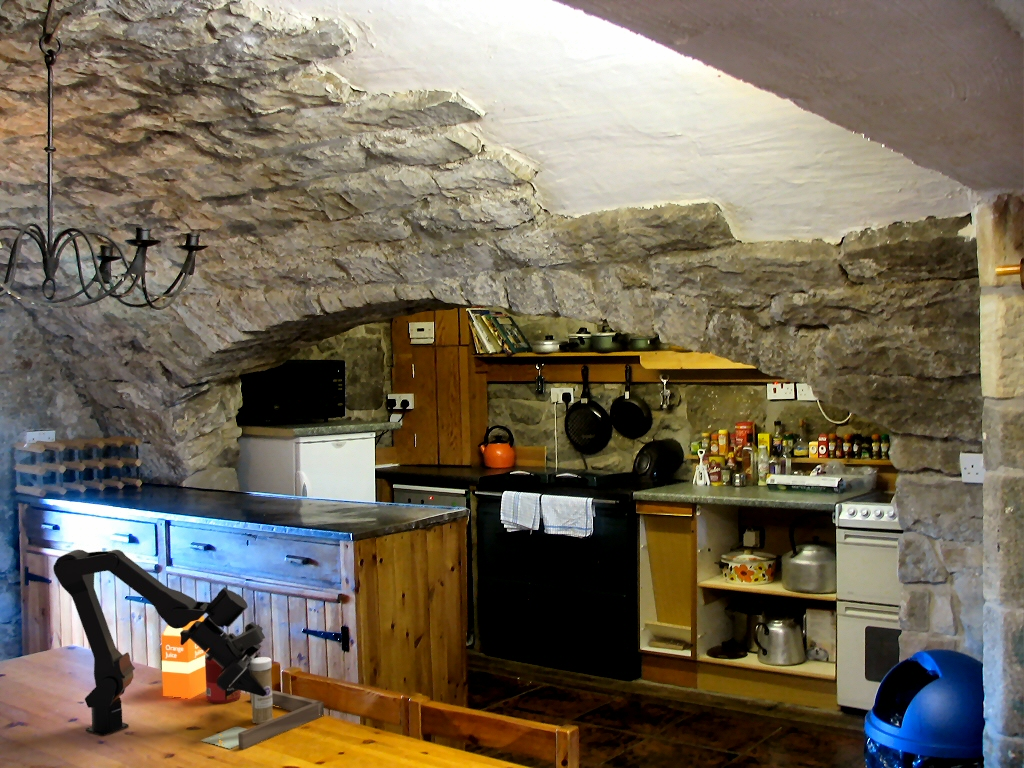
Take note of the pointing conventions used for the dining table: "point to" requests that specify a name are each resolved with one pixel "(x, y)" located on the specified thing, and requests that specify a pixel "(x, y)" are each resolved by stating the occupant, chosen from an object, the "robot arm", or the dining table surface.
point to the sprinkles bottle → (263, 675)
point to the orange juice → (182, 664)
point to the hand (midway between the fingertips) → (268, 690)
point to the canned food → (212, 689)
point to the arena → (272, 722)
